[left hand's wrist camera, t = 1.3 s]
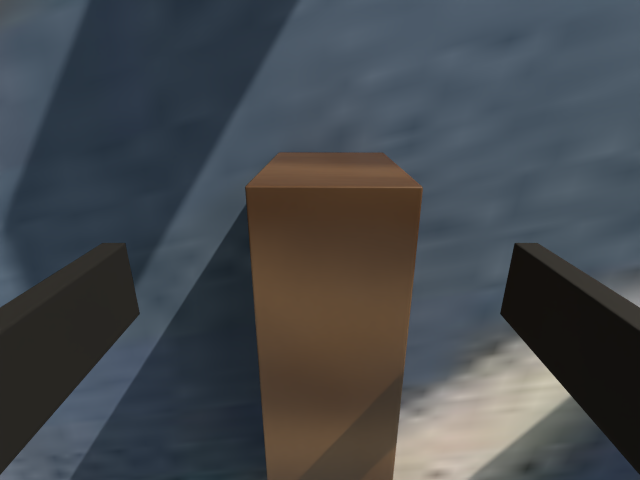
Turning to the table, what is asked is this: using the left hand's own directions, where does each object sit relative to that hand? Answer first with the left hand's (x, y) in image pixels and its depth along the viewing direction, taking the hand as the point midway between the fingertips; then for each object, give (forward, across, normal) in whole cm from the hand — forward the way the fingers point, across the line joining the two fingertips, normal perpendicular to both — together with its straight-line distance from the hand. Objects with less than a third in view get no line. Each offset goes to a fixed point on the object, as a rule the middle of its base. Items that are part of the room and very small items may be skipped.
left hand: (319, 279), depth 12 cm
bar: (+8, 0, -9) cm, 12 cm away
